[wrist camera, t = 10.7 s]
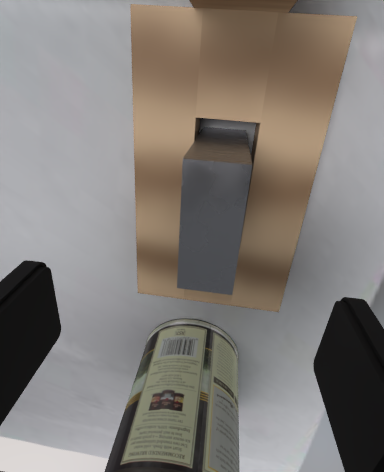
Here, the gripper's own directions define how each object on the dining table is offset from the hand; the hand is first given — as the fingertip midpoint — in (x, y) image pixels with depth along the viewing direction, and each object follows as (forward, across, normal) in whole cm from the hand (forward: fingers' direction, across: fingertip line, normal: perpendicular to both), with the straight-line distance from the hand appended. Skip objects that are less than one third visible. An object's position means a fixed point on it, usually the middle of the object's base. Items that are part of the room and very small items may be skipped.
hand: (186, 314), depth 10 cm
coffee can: (+16, 0, +20) cm, 25 cm away
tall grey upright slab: (+15, -1, 0) cm, 15 cm away
